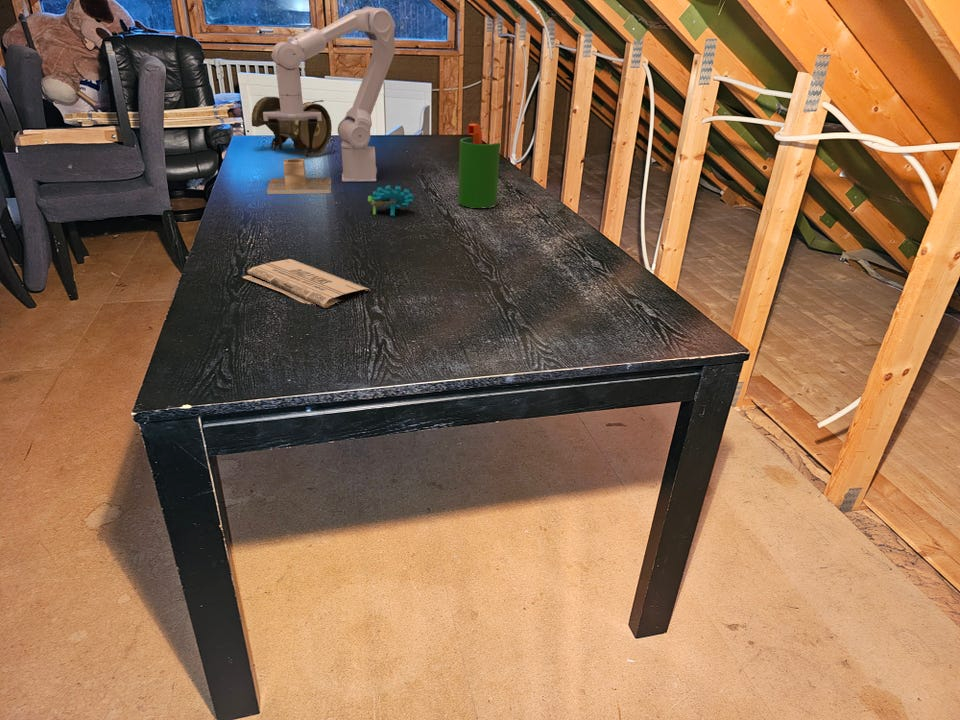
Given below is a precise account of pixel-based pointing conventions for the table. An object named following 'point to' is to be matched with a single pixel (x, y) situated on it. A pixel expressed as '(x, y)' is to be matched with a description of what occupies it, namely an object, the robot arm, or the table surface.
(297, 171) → the hollow square block
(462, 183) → the green cylindrical container
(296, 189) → the base plate
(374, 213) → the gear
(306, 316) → the table surface
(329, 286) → the newspaper
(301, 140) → the bench grinder
